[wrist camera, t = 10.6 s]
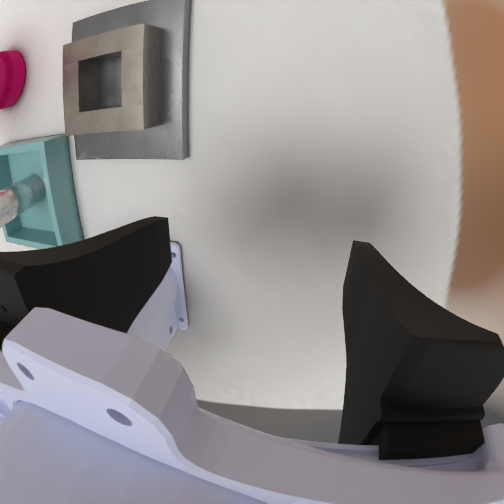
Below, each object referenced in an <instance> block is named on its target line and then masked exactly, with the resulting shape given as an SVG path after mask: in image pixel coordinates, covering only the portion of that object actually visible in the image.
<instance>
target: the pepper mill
mask: <svg viewBox="0 0 504 504" xmlns="http://www.w3.org/2000/svg"><path fill="white" fill-rule="evenodd" d="M24 82H25V63H24V60H23V57H22V56H21V54H20V53H19V52H17V51H14V50H13V51H2V52H0V110H1V109H5V108H8V107H11V106H12V105H14V104H15V103H16V101H17V100H18V99H19V97H20V95H21V93H22V90H23V87H24Z"/></svg>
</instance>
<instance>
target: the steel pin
mask: <svg viewBox="0 0 504 504" xmlns="http://www.w3.org/2000/svg"><path fill="white" fill-rule="evenodd" d="M44 198H45V186H44V183H43V181H42V180H41V178H40V177H39V176H38V175H36V174H32V175H30V176H28V177H26V178H24V179H22V180H20V181H18V182H16V183H14V184H12V185H10V186H8V187H6V188H4V189H3V190H1V191H0V228H1V227H2V226H4V225H5V224H7V223H8V222H10V221H11V220H13V219H14V218H16V217H17V216H19V215H20V214H22V213H24V212H25V211H27V210H28V209H30V208H32V207H33V206H35V205H37V204H38V203H40V202H42V201H43V200H44Z"/></svg>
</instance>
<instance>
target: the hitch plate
mask: <svg viewBox="0 0 504 504" xmlns="http://www.w3.org/2000/svg"><path fill="white" fill-rule="evenodd" d="M190 8H191V0H149V1H144V2H140V3H136V4H132V5H128V6H124V7H120V8H117V9H113V10H110V11H106V12H103V13H100V14H97V15H94V16H91V17H88V18H85V19H82V20H79V21H77V22H74V23H73V30H72V43H69V44H66V45H63V102H64V120H65V133H66V136H69V135H74V139H75V149H76V159H77V160H86V159H176V160H183V159H185V158H187V157H188V57H189V28H190Z"/></svg>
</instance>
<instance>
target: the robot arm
mask: <svg viewBox="0 0 504 504" xmlns="http://www.w3.org/2000/svg"><path fill="white" fill-rule="evenodd" d="M172 252H174V253H175V254H176V256H175V255H174V254H173V253H172ZM342 309H343V320H344V331H345V343H346V361H347V367H346V383H345V395H344V405H343V415H342V421H341V429H340V436H339V442H338V444H334V443H323V442H313V441H304V440H296V439H289V438H282V437H276V436H273V435H270V434H267V433H264V432H261V431H258V430H255V429H252V428H249V427H247V426H244V425H241V424H238V423H236V422H233V421H231V420H228V419H225V418H223V417H220V416H218V415H215V414H213V413H210V412H208V411H206V410H203V409H201V408H199V407H198V405H197V402H196V397H195V391H194V386H193V384H192V383H191V381H190V379H189V377H188V375H187V374H186V372H185V370H184V368H183V366H182V365H181V364H180V363H179V362H178V361H176V360H175V359H174V358H173V357H172V356H170V355H169V354H168V353H167V352H166V351H165V350H166V349H167V347H168V345H169V343H170V342H171V340H172V338H173V336H174V335H175V333H176V331H177V330H182V331H186V330H187V329H188V318H187V310H186V301H185V293H184V283H183V274H182V263H181V253H180V246H179V245H178V244H177V243H175V242H170V235H169V224H168V218H165V217H156V216H154V217H149V218H145V219H142V220H139V221H136V222H133V223H130V224H127V225H125V226H122V227H119V228H117V229H114V230H111V231H108V232H106V233H103V234H100V235H97V236H94V237H91V238H88V239H85V240H81V241H78V242H74V243H70V244H66V245H61V246H56V247H51V248H46V249H39V250H30V251H19V252H0V504H504V423H501V424H494V425H491V426H488V427H486V428H484V429H483V430H482V427H481V422H480V420H482V419H483V418H484V416H485V412H484V408H483V404H484V403H485V402H486V400H487V399H488V398H489V397H490V396H491V394H492V393H493V392H494V391H495V389H496V388H497V387H498V385H499V384H500V382H501V381H502V379H503V378H504V346H503V344H502V342H501V339H500V337H499V336H498V334H496V333H494V332H491V331H488V330H486V329H484V328H481V327H479V326H476V325H474V324H472V323H470V322H468V321H466V320H464V319H462V318H460V317H458V316H456V315H455V314H453V313H451V312H449V311H448V310H446V309H444V308H443V307H441V306H440V305H438V304H437V303H435V302H433V301H432V300H431V299H429V298H428V297H426V296H425V295H424V294H423V293H421V292H420V291H419V290H417V289H416V288H415V287H414V286H412V285H411V284H410V283H409V282H408V281H407V280H406V279H405V278H404V277H403V276H401V275H400V274H399V273H398V272H397V271H396V270H395V269H394V268H393V267H392V266H391V265H390V264H389V263H388V262H387V261H386V259H385V258H384V257H383V256H382V255H381V254H380V253H379V252H378V251H377V250H376V249H375V248H374V247H373V246H372V245H371V244H370V243H367V242H360V241H353V244H352V249H351V254H350V258H349V263H348V268H347V272H346V277H345V281H344V285H343V307H342ZM182 318H183V319H182Z"/></svg>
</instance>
